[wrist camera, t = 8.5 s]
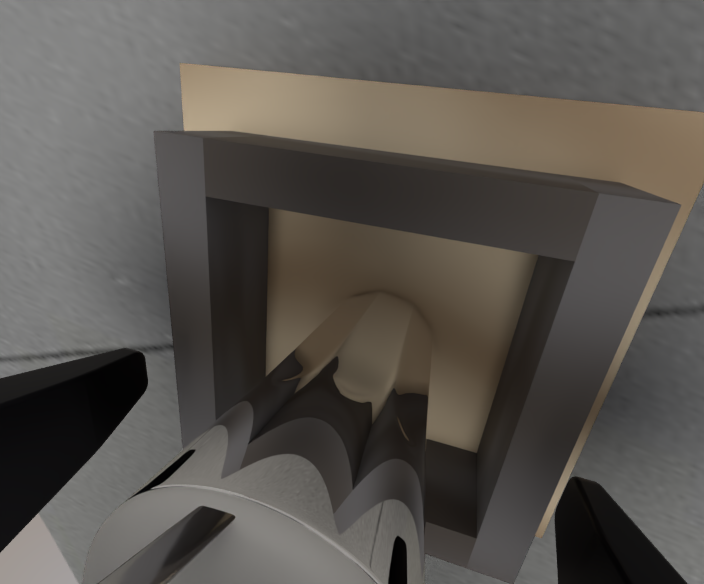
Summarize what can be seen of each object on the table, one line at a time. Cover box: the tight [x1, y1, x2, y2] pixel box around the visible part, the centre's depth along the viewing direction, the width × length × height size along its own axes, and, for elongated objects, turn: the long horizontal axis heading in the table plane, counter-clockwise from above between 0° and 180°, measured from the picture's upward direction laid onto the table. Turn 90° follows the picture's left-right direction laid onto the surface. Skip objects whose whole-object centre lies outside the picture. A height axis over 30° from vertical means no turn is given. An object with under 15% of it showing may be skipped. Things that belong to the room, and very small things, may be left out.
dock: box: [154, 63, 704, 584], centre depth 11 cm, size 13×13×4 cm
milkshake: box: [82, 291, 433, 584], centre depth 8 cm, size 4×5×10 cm
